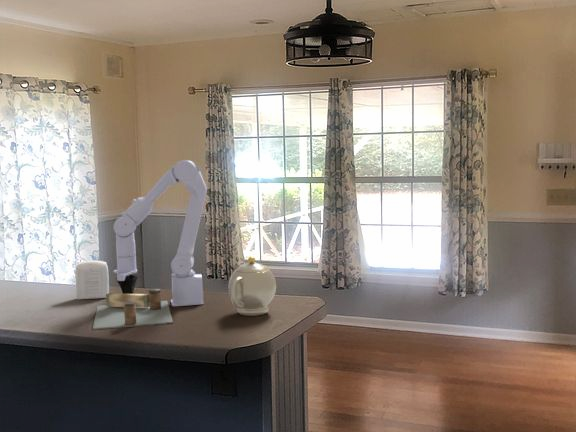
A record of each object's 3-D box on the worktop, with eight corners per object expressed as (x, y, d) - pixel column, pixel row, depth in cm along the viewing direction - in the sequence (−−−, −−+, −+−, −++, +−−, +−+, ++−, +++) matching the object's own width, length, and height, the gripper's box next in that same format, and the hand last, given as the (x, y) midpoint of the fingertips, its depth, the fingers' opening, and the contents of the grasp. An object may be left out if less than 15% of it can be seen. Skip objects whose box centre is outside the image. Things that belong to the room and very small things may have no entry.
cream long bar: (149, 305, 194) (149, 293, 194) (147, 307, 192) (146, 295, 192) (109, 304, 197) (109, 293, 197) (106, 306, 195) (105, 294, 195)
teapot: (247, 305, 197) (245, 251, 195) (286, 309, 190) (285, 253, 188) (212, 318, 181) (210, 260, 180) (253, 324, 174) (251, 263, 173)
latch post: (136, 323, 178) (135, 301, 178) (136, 326, 175) (135, 303, 175) (125, 324, 178) (123, 302, 177) (125, 327, 175) (123, 304, 174)
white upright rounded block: (109, 295, 215) (107, 258, 214) (109, 298, 211) (107, 260, 210) (77, 297, 213) (75, 260, 212) (76, 300, 209) (74, 262, 207)
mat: (167, 301, 204) (167, 300, 204) (172, 323, 178) (172, 321, 178) (97, 307, 199) (97, 305, 199) (92, 329, 173) (92, 328, 173)
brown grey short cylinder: (161, 308, 195) (160, 288, 195) (161, 310, 192) (160, 290, 191) (149, 309, 194) (148, 289, 194) (149, 311, 191) (148, 291, 190)
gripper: (120, 252, 206) (122, 294, 207) (106, 260, 191) (108, 305, 193) (142, 252, 206) (144, 294, 207) (129, 259, 191) (132, 304, 193)
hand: (128, 299), depth 200 cm, fingers closed
